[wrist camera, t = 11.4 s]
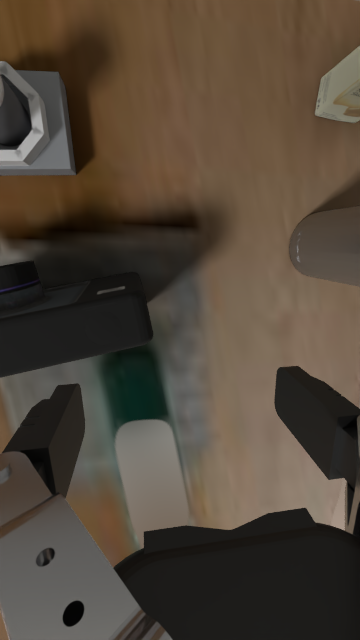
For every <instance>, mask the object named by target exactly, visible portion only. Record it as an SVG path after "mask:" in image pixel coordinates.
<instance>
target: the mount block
mask: <svg viewBox="0 0 360 640" xmlns="http://www.w3.org/2000/svg"><path fill="white" fill-rule="evenodd" d="M0 75H1V77H2V78H3V79H4V81H5V82H6V83H7V84H8V86H9V87H10V88H11V90H12V91H13V92H14V94H15V95H16V96H17V98H18V99H19V100H20V102H21V103H22V104H23V106H24V107H25V108H26V110H27V112H28V114H29V117H30V121H31V129H30V133H29V135H28V136H27V137H26V138H25V140H24V141H23V142H22V143H21V144H19V145H17V146H4V145H1V144H0V175H76V170H75V162H74V154H73V145H72V137H71V129H70V121H69V113H68V105H67V97H66V89H65V85H64V83H63V81H62V79H61V77H60V75H59V72H47V71H24V70H14V69H13V68H12V67H11V66H10V65H9V64H8V63H7V62H3V61H0Z"/></svg>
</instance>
